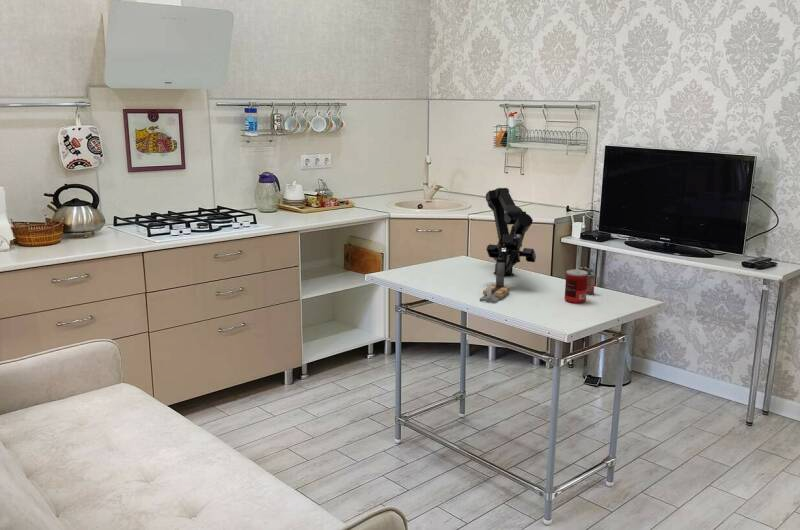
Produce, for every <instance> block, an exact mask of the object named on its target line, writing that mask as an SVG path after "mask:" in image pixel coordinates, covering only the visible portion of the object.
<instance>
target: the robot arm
mask: <svg viewBox="0 0 800 530" xmlns="http://www.w3.org/2000/svg"><path fill="white" fill-rule="evenodd" d="M485 201H486V203H487V206H488V208H490V210H492V212H493V218H494V221H495V222H494V223H495V227H496V232H497V237H498V242H497V244H491V243H489V244H488V245H487V246H486V251H487V255H488V257H489V258H492V259H493V260H494V261H495V265H494V266H495V267H494V272H493V274H495V275H496V270H497V263H499V262H501V263H505V270H504V277H509V275H512V276H514V275H515V273H513V270H514V269H513V267H514V266H515V265H516V264H518V263H520V262H521V258H522V257H524V258H525V261H526V262H530V263H535V262H536V258H537V256H536V251H535V249H534V248H530V247H529V248H528V247H524V248H523V249H522V250H521V248H522V247H523V241H524V237H525V234H526V232H528V231H529V229H530V228H531V226H532V224H533V223H534V222H533V218H532V217H531V215H529V214H527V212H526V211H524V210H523V209H522V208H521V207H520V206H517V205H516V203H515V202H514V200H513V198H512V196H511V194H510V189H509V188H507V187H498V188H495V189H492V190H491V189H490V190H488V192H486V194H485ZM509 225H511V228H510V231H509Z"/></svg>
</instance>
